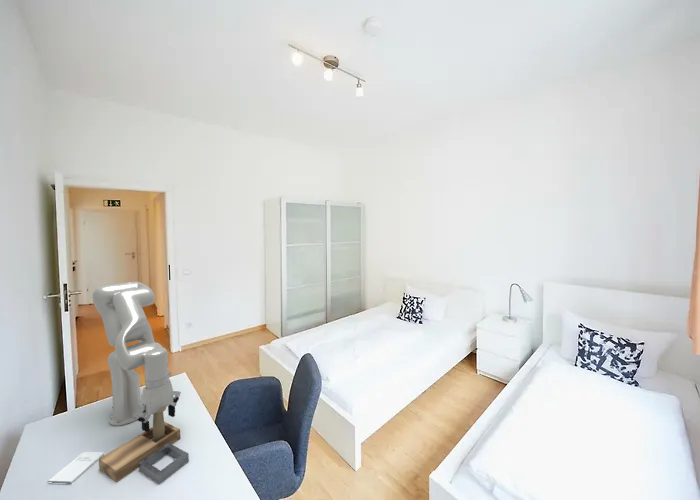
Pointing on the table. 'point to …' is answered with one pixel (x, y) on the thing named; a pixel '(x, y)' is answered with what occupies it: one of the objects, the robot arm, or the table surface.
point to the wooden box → (135, 452)
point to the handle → (158, 425)
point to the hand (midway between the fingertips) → (159, 423)
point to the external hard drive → (76, 467)
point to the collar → (160, 476)
